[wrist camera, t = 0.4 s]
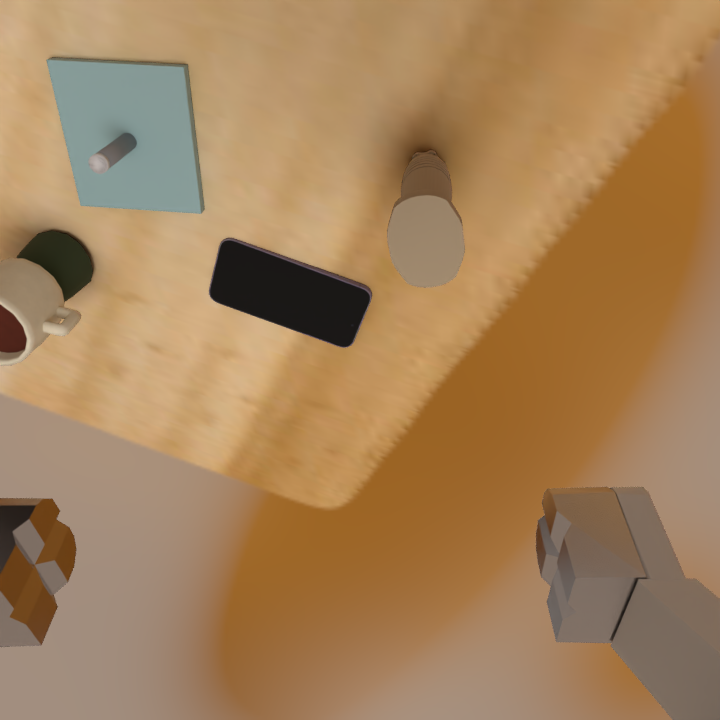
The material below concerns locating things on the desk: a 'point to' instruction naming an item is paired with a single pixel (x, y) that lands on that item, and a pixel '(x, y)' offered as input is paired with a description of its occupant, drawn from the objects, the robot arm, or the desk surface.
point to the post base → (129, 133)
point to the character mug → (39, 293)
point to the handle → (426, 225)
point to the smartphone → (289, 292)
